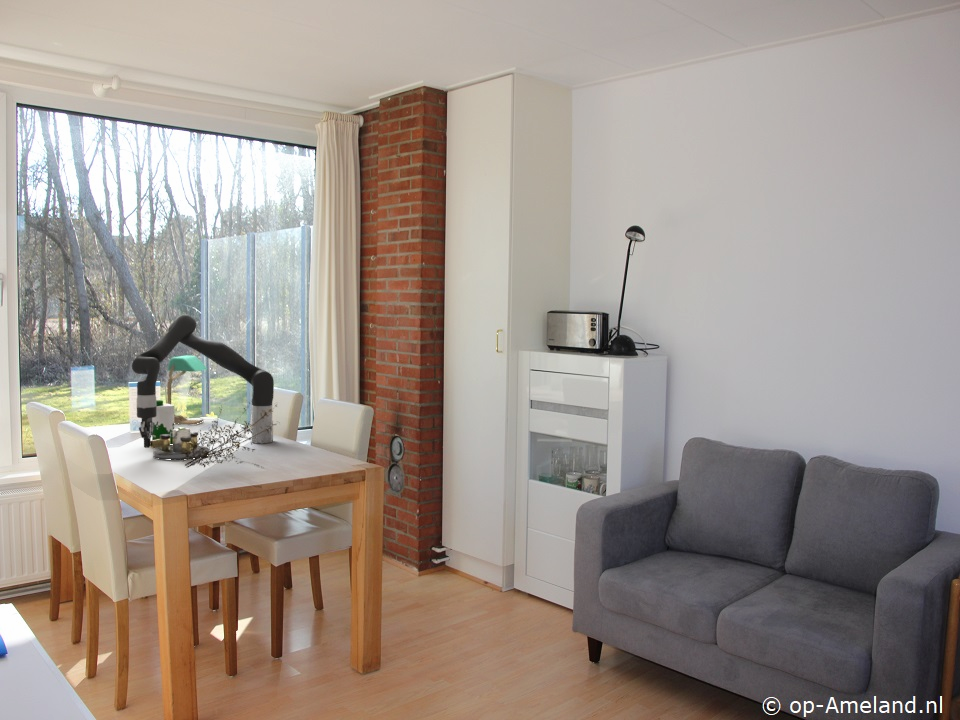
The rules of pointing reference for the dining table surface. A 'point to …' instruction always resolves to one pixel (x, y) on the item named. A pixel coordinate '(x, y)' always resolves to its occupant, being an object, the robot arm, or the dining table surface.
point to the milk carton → (163, 420)
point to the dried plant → (224, 442)
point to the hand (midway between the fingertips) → (147, 447)
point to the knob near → (194, 437)
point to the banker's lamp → (180, 365)
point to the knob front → (162, 442)
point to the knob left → (186, 444)
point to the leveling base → (177, 454)
